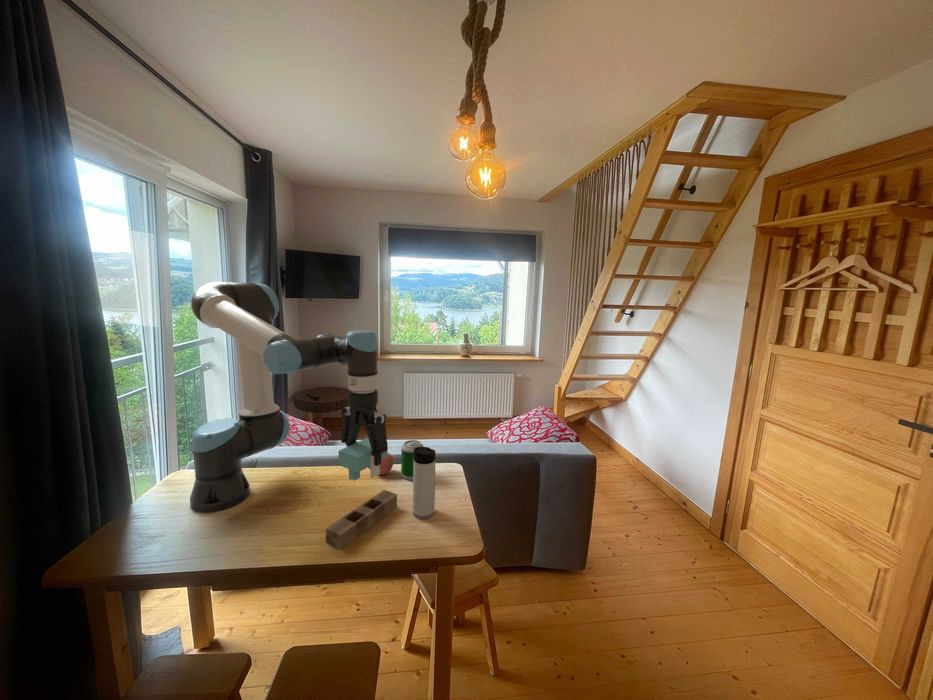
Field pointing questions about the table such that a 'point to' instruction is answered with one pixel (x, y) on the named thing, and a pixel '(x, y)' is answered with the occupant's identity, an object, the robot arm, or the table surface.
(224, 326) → the robot arm
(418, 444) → the soda can
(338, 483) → the table surface
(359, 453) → the teal footed block
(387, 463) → the apple
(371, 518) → the rail
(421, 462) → the travel mug
